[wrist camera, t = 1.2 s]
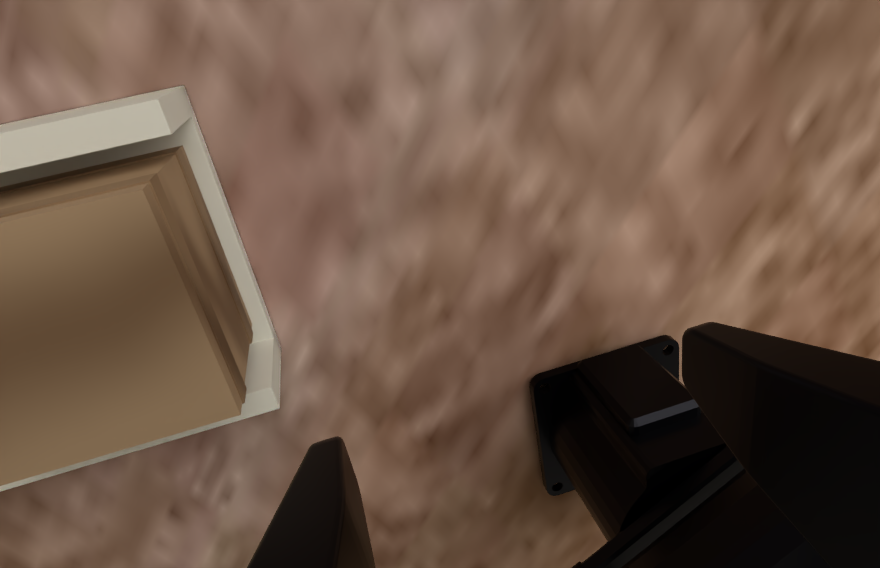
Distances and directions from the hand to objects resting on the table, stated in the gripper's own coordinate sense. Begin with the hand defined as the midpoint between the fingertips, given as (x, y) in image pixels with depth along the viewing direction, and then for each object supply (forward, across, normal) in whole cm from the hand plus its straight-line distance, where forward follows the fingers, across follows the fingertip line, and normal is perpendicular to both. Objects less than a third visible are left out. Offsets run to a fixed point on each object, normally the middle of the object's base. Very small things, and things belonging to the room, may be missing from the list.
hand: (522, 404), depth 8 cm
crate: (+11, +8, 0) cm, 14 cm away
